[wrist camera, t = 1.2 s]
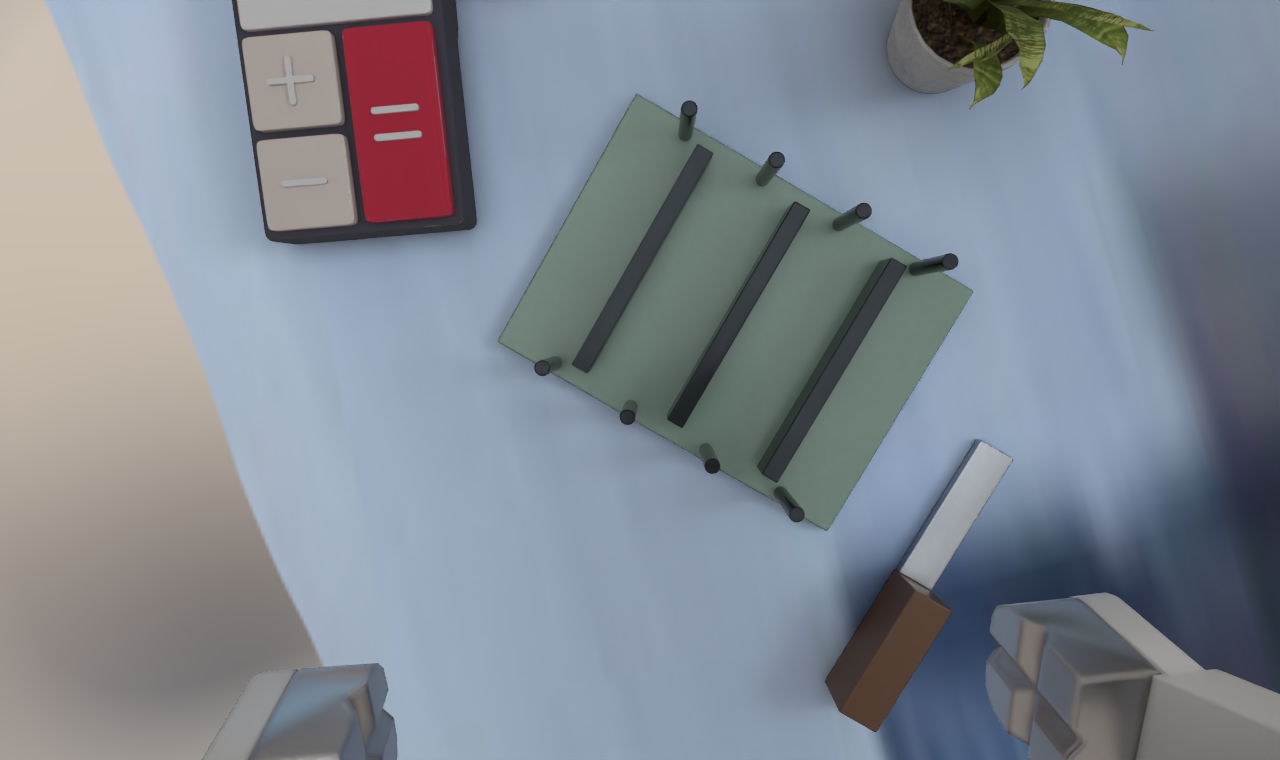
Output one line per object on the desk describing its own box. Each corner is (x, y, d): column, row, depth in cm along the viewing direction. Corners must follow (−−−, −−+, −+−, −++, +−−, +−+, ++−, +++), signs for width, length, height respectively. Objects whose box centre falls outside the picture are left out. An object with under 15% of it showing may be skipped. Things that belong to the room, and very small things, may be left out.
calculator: (257, 241, 40) (214, -58, 38) (295, 245, 44) (258, -23, 42) (462, 223, 40) (428, -79, 38) (480, 229, 44) (451, -42, 42)
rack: (968, 291, 43) (1017, 286, 37) (824, 528, 44) (849, 558, 38) (636, 97, 43) (633, 61, 37) (499, 341, 44) (476, 343, 38)
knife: (858, 700, 45) (876, 733, 41) (824, 681, 45) (838, 712, 41) (1010, 458, 44) (1042, 470, 40) (975, 437, 44) (1004, 447, 40)
